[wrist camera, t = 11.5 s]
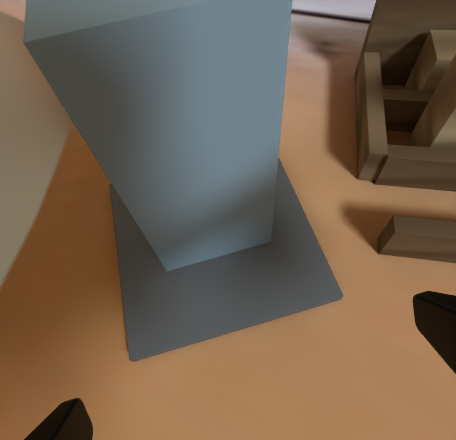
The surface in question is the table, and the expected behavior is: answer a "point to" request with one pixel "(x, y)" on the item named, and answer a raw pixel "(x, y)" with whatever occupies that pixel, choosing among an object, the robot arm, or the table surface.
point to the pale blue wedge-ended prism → (175, 110)
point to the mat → (220, 281)
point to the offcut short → (432, 60)
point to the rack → (402, 122)
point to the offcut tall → (439, 115)
